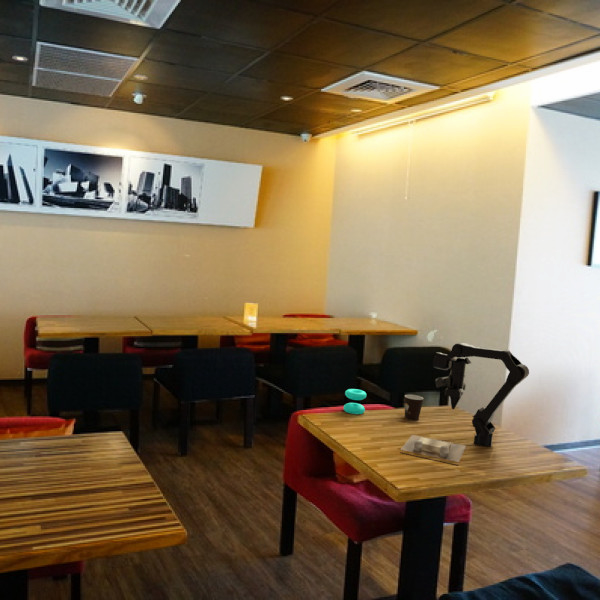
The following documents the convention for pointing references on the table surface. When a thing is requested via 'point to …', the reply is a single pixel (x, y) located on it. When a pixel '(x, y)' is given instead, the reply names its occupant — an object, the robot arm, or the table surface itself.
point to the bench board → (416, 447)
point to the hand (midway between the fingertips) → (453, 408)
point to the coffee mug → (412, 406)
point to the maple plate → (433, 445)
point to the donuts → (355, 407)
